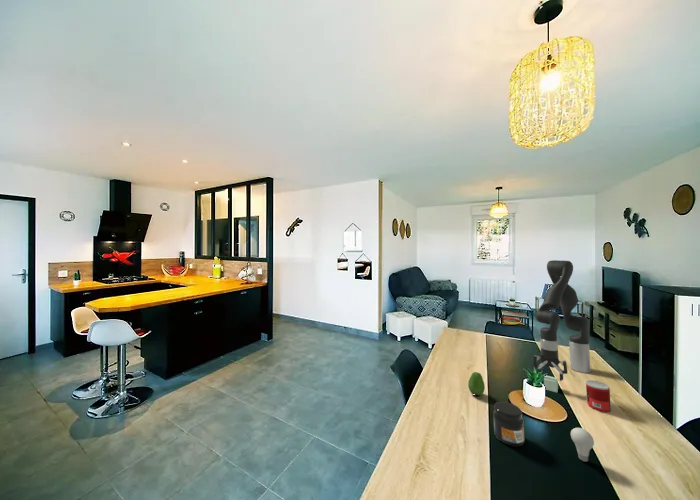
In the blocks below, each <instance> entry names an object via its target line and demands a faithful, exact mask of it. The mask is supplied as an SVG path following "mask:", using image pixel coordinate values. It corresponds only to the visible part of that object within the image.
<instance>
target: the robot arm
mask: <svg viewBox="0 0 700 500" xmlns="http://www.w3.org/2000/svg"><path fill="white" fill-rule="evenodd" d="M546 271H547V273H548V275H549V278H550V280H551V282H552V284H553V285H552V286H551V287H549V288H548V289H547V290H546V293H545V296H544V297H543V298H544V299H543V301H542V304H541V305H540V306H539V308H538V309H537V310H536V312H535V320H536V321H537V322H538V323H541V324H546V325H549V327H542V328H540V329H539V331H540V332H539V333H540V344H539V347H540V355H537V354H534V356H533V367H534V368H537V372H538V371H539V372H542V373H543V371H542V368H543V367H544V366H545V367H547V368H548V367H549V368H552V369H553V368H555V369H556V371H558V373H559V381H560V382H562V381H563V380H564V374H565V375H568V365H567V361H565V360H560V359H559V345H558V329H559V326H560V322H561V315H559V313H558V312H557V311H554V310H558V309H559V307H560V308H561V312H562V317H563V322H564V324H565V327H566V328H567V329H568V330H569V331H570V330H571V331H576V332H580V333H579V334H571V335H569V336H568V343H569V344H568V345H569V362H570V364H569V365H570V368H571V370H573V371H576V372H579V373H583V374H589V373H591V371H592V370H591V355H590V353H591V352H590V351H591V350H590V321H589V319H588V318H587V317H584V316H580V315H573V314H572V311H573V309H575V307H576V306H577V305H578V303H579V297H578V295H577V291H576V290H575V289H574V288H573V287H572V286H571V285H570V284H569V282H570V279H571V277H572V275H573V272H574V265H573V262H572V261H570V260H555V259H554V260H549V261H547V264H546ZM551 310H553V311H551ZM539 360H540V361H541V363H539V364H538V362H537V361H539ZM559 364H560V365H561V366H563V370H562V368H561V366H560V365H559Z"/></svg>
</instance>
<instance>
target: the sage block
mask: <svg viewBox="0 0 700 500" xmlns="http://www.w3.org/2000/svg"><path fill="white" fill-rule="evenodd" d="M558 379H559V378H558V377H555V376H550V375H546V376H545V375H544V378H543V386H544V385H545V387H546V389H545V390H546V391H550V392H553V393H556V394H557V393H558V390H559V383H558V382H559V380H558Z"/></svg>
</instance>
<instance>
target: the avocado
mask: <svg viewBox="0 0 700 500" xmlns="http://www.w3.org/2000/svg"><path fill="white" fill-rule="evenodd" d="M467 385H468V390H469V392H470V394H472V395H473V394H475V395H481V396H482V395H483V394H484V392H485V383H484V379H483V376H482V374H481V373H480V372H478V371H473V372H472V373H471V375H470V377H469V380H468V384H467ZM475 395H474V396H475Z"/></svg>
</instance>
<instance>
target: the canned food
mask: <svg viewBox="0 0 700 500" xmlns="http://www.w3.org/2000/svg"><path fill="white" fill-rule="evenodd" d="M585 386H586V387H585V389H586V390H585V391H586V403H587V406H588V407H589V408H591V409H592V410H595V411H598V412H602V413H610V412H611V408H612V407H611V390H610V386H609V385H608V384H606V383H605V382H601V381H597V380H591V379H590V380H586V381H585Z"/></svg>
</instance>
